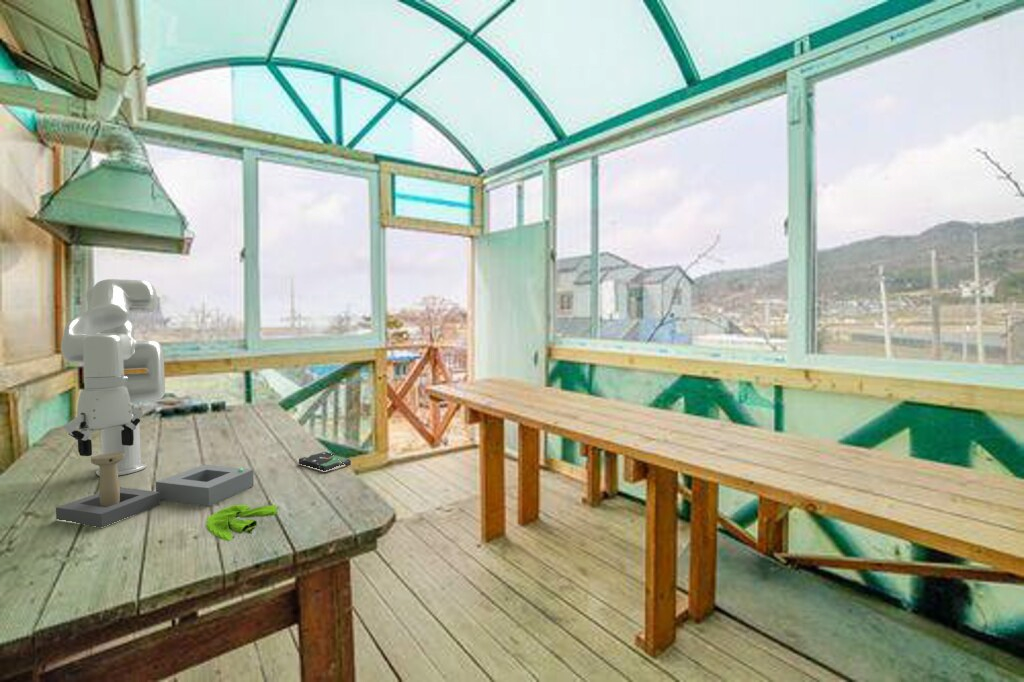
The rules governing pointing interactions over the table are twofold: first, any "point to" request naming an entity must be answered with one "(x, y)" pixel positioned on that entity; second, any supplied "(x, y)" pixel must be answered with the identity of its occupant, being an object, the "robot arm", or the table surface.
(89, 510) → the grey square frame
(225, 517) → the cloth
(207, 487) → the port block
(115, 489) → the handle
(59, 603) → the table surface
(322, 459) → the disk drive
